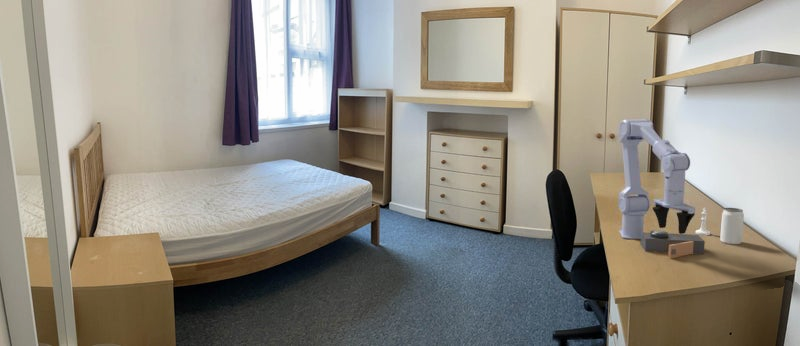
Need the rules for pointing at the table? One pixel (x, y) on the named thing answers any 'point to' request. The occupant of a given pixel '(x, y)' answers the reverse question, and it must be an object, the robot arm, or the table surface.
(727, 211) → the can
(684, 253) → the side door
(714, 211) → the table surface
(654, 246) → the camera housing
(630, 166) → the robot arm
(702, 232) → the chess piece
